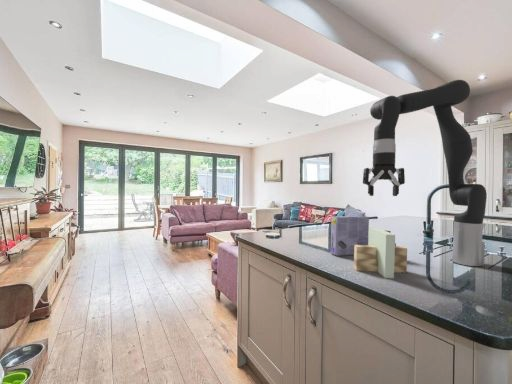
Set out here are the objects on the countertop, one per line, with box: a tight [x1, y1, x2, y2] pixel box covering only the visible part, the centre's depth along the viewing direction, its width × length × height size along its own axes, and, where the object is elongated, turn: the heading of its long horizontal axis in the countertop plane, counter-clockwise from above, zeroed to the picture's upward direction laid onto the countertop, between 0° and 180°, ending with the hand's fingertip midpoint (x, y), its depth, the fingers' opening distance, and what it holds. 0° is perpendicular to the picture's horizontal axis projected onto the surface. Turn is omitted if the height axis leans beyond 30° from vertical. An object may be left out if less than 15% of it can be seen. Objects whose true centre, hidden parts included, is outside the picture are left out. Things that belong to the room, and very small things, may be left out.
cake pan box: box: [330, 215, 370, 257], centre depth 118 cm, size 19×5×18 cm, turn 108°
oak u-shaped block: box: [353, 245, 408, 274], centre depth 95 cm, size 18×3×9 cm, turn 86°
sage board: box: [368, 226, 396, 279], centre depth 95 cm, size 3×16×15 cm, turn 176°
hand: (383, 195), depth 94 cm, fingers open, 8 cm apart
